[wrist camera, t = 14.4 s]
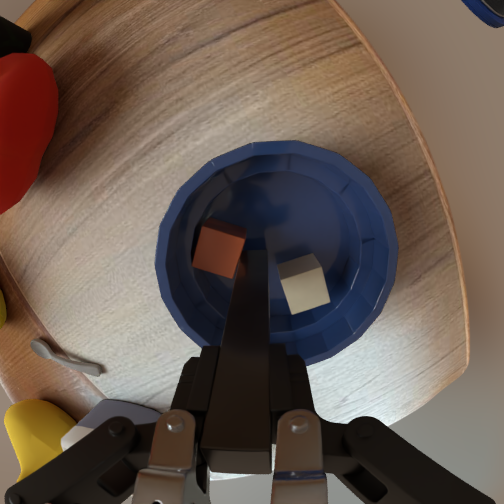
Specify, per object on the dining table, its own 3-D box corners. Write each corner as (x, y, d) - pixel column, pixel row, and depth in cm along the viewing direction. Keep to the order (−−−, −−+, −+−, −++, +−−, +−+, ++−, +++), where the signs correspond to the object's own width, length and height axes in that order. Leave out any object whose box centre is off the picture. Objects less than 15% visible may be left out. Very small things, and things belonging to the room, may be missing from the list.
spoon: (32, 332, 27) (25, 340, 25) (101, 357, 28) (96, 367, 27) (36, 348, 28) (30, 356, 26) (104, 373, 29) (99, 383, 28)
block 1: (247, 228, 22) (246, 239, 19) (235, 263, 23) (232, 279, 20) (209, 216, 22) (201, 225, 19) (199, 252, 23) (190, 266, 20)
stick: (267, 249, 21) (271, 450, 6) (268, 273, 21) (271, 474, 6) (241, 250, 21) (198, 447, 6) (243, 274, 22) (210, 472, 7)
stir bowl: (365, 146, 20) (400, 143, 15) (359, 319, 25) (380, 356, 20) (167, 158, 21) (138, 157, 15) (194, 332, 26) (181, 373, 20)
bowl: (110, 437, 34) (92, 484, 24) (79, 379, 29) (45, 433, 19) (193, 454, 34) (184, 509, 24) (178, 400, 29) (159, 473, 19)
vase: (11, 376, 31) (-35, 436, 13) (70, 393, 31) (20, 480, 12) (54, 434, 37) (25, 491, 19) (116, 453, 36) (91, 526, 18)
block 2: (312, 252, 23) (321, 266, 20) (321, 285, 24) (330, 302, 20) (276, 264, 23) (280, 280, 20) (287, 296, 24) (292, 315, 21)
